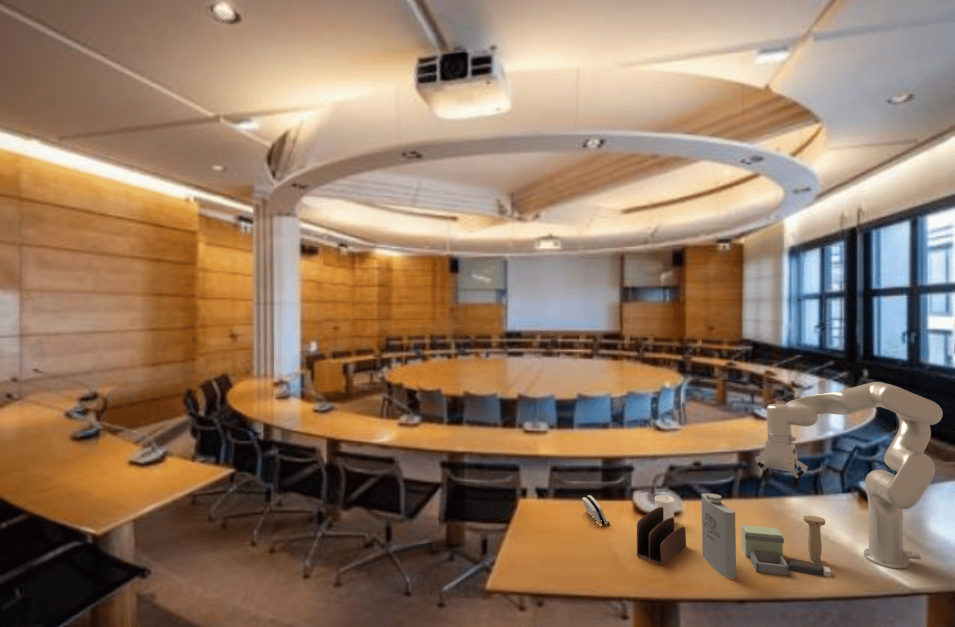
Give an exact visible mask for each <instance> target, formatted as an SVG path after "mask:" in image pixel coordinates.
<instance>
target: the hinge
mask: <svg viewBox="0 0 955 627" xmlns="http://www.w3.org/2000/svg"><path fill="white" fill-rule="evenodd" d="M581 500H582V503H583V506H584V508H586V509H585V511H586V510H587V511H588V512H589V513H590V514H591V515H592V516H593V517H594V519H595V520H596V521H597V522H598V523H599V524H602V523H605V524H606V525H608V523H610V524H611V521H610V520H609V519H608V518H606V517H607V516H605V513H604V511H603V508H602V507H601V506H600V504H599V503H598V501H597V500H596V499H595V498H594V497H593V496H592V495H590V494H589V495H587V496H586V497H585V496H584V497H582V498H581ZM587 511H586V512H587ZM594 519H593V520H594ZM595 520H594V521H595ZM601 520H602V521H601ZM605 524H604V525H605Z"/></svg>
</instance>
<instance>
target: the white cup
mask: <svg viewBox="0 0 955 627" xmlns="http://www.w3.org/2000/svg"><path fill="white" fill-rule="evenodd" d="M659 507H663V509H664V516H663V517H664V518H663V521H664V520H666V519H668V518H672V517H673V518H674V517H675V498H673V497H672V496H670V495H666V494H663V495H662V494H658V495H655V497H654V509H656V508H659Z"/></svg>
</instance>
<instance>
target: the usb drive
mask: <svg viewBox="0 0 955 627" xmlns="http://www.w3.org/2000/svg"><path fill="white" fill-rule="evenodd" d="M787 564H788V566H789V571H791V572H792V571H793V572H798V573H803V574H808V575H812V576H818V577H830V578H831V577H832V576H831V573H832V571H831V569H830V567H829V566H823V565H824V564H822V563H818V562H814V561H807V560H804V559H803V560H801V559H796V558H792V557H791V558H790V557H789V558H788V560H787Z"/></svg>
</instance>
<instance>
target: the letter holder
mask: <svg viewBox="0 0 955 627" xmlns="http://www.w3.org/2000/svg"><path fill="white" fill-rule="evenodd" d="M663 516H664V509H663V507H659V508H656V509H655V508H654V509H653V510H651V511H649V512H648V513H646V514H645V515H643V516H642V517H641V518H640V519H638V521H637V523H636V557H638V556H640V557H639V558H641V557H642V558H641V559H643V558H645V559H644V560H646V559H647V560H646V561H648V560H649V562H651V561H652V562H651V563H655V564H656V563H657V564H656V565H658V566H659V565H660V566H661V565H662V566H664V565H665V564H666V563H667V562H668V561H670V560H671V559H672V558H674V557H675V556H676V555H677V554H679V553H680V552H681V551H682V550H684V549H685V548H686V547H687V535H686V527H684V526H681V527H679V528H677V529H675V518H674V517H672V518H668V519H666V520H664V521H663V518H664V517H663Z"/></svg>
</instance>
